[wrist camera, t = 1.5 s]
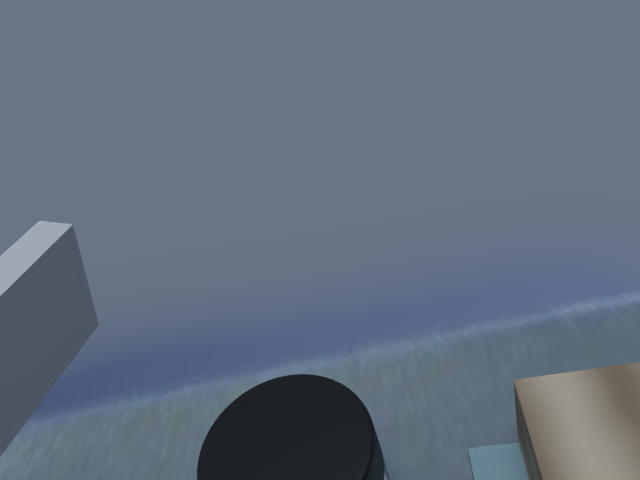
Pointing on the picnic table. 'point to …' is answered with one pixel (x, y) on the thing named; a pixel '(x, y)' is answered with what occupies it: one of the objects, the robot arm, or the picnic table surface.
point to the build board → (498, 462)
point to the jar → (293, 435)
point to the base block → (580, 424)
